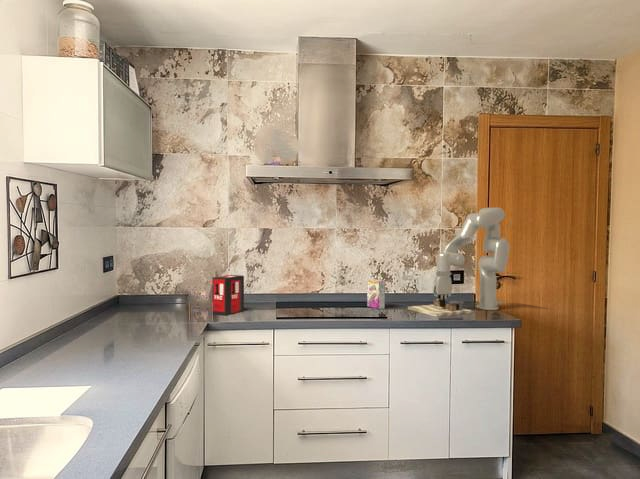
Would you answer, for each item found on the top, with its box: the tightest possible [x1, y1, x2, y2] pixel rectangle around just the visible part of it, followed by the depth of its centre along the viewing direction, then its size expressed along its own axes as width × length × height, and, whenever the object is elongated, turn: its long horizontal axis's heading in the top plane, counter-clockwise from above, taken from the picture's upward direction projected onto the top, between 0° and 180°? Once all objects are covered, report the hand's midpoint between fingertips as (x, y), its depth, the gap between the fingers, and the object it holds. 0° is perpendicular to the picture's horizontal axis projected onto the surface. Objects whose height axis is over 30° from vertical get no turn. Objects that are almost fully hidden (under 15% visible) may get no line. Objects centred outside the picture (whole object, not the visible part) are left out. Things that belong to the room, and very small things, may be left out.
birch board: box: [407, 304, 473, 317], centre depth 284 cm, size 26×25×2 cm
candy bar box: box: [366, 278, 386, 310], centre depth 293 cm, size 11×5×16 cm, turn 34°
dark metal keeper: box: [447, 300, 465, 310], centre depth 280 cm, size 9×4×4 cm, turn 118°
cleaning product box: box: [211, 274, 245, 317], centre depth 271 cm, size 16×9×20 cm, turn 154°
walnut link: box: [433, 298, 456, 310], centre depth 286 cm, size 20×5×4 cm, turn 15°
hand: (442, 306), depth 282 cm, fingers closed
